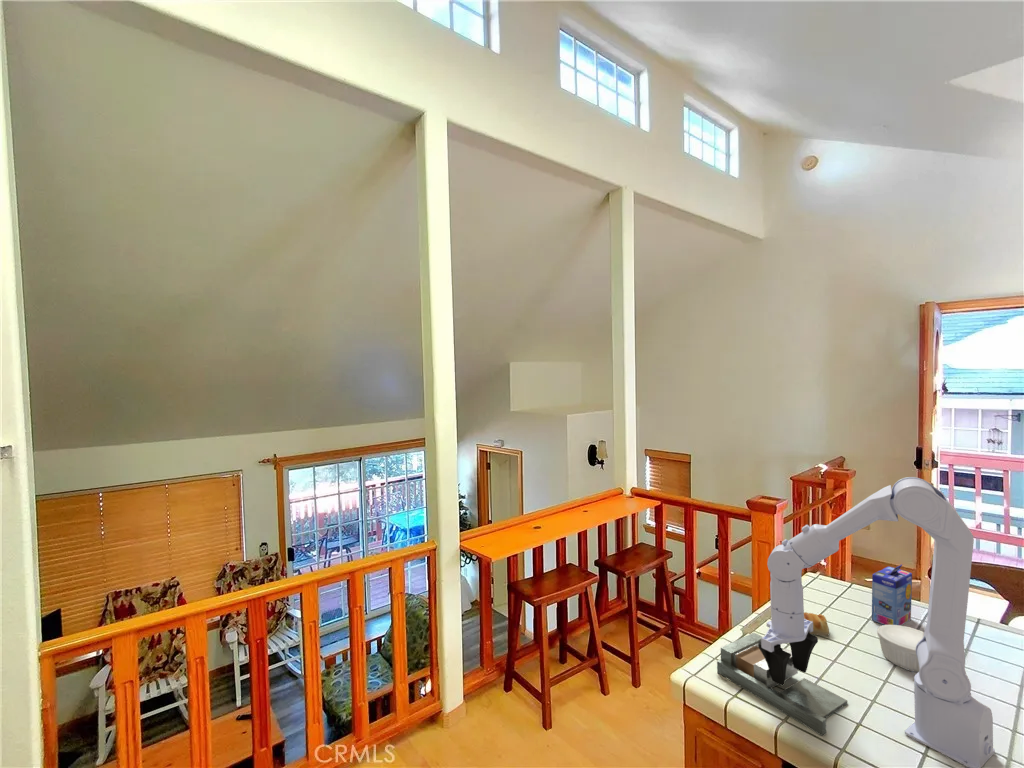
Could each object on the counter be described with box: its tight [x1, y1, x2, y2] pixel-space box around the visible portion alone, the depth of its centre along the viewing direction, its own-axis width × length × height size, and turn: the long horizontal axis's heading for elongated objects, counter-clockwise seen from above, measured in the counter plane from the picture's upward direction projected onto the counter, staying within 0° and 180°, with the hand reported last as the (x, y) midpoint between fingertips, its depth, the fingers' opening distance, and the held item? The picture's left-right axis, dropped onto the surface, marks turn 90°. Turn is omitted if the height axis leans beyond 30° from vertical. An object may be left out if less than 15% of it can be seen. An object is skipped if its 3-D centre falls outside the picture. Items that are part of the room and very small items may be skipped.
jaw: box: [754, 648, 799, 689], centre depth 97 cm, size 3×11×4 cm, turn 120°
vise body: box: [716, 632, 848, 736], centre depth 95 cm, size 21×13×5 cm, turn 30°
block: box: [738, 648, 765, 678], centre depth 100 cm, size 4×7×4 cm, turn 120°
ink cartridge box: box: [871, 564, 913, 626], centre depth 121 cm, size 10×6×14 cm, turn 122°
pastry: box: [804, 611, 830, 637], centre depth 118 cm, size 9×7×4 cm
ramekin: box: [876, 625, 924, 673], centre depth 103 cm, size 11×11×5 cm
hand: (789, 675), depth 94 cm, fingers open, 7 cm apart
